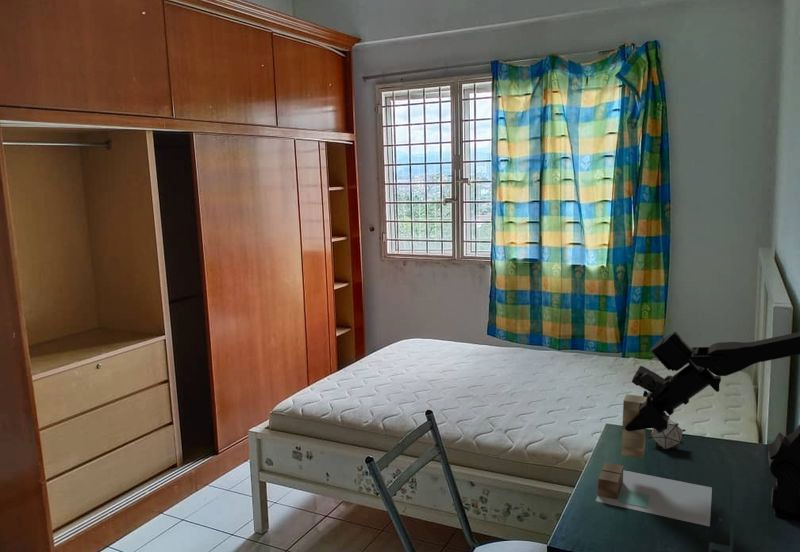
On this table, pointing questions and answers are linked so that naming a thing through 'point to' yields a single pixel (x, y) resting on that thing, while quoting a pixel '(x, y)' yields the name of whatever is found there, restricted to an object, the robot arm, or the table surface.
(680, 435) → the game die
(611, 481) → the cube
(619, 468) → the cube
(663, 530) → the table surface
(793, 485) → the robot arm
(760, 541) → the table surface
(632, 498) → the board
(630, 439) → the pillar
